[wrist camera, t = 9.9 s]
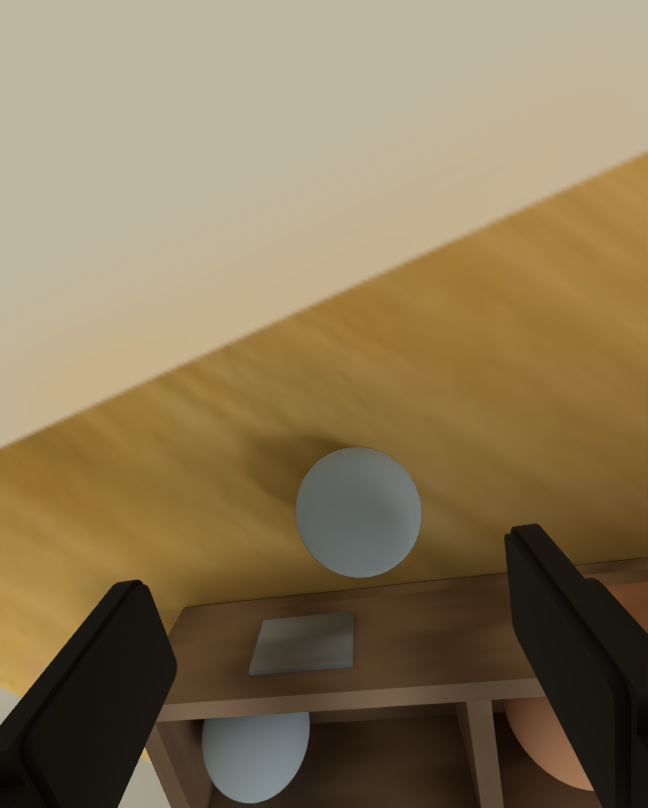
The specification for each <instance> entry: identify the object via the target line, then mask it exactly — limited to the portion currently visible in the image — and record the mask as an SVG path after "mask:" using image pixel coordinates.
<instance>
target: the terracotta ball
mask: <svg viewBox="0 0 648 808" xmlns="http://www.w3.org/2000/svg"><path fill="white" fill-rule="evenodd" d="M503 704H504V709H505V712H506V716H507V718H508V721H509V723H510V726H511V728H512V730H513V732H514V734H515V736H516V738H517V739H518V741H519V743H520V744H521V745H522V747H523V748H524V750H525V751H526V752H527V753H528V754H529V756H530V757H531V758H532V759H533V760H534V761H535V762H536V763H537V764H538V765H539V766H540V767H542V768H543V769H544V770H545V771H546V772H548V773H549V774H550V775H552V776H553V777H555V778H556V779H558V780H560V781H562V782H564V783H566V784H568V785H570V786H573V787H576V788H580V789H584V790H590V791H594V790H593V788H592V786H591V784H590V782H589V780H588V778H587V776H586V774H585V772H584V770H583V768H582V766H581V764H580V762H579V760H578V758H577V756H576V754H575V752H574V750H573V748H572V746H571V744H570V742H569V740H568V738H567V736H566V734H565V732H564V730H563V728H562V726H561V724H560V722H559V721H558V719H557V717H556V715H555V713H554V711H553V709H552V707H551V705H550V703H549V701H548V699H547V697H546V696H544V697H528V698H513V699H503Z"/></svg>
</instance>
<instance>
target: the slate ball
mask: <svg viewBox="0 0 648 808" xmlns="http://www.w3.org/2000/svg"><path fill="white" fill-rule="evenodd" d="M295 510H296V522H297V527H298V530H299V533H300V536H301V539H302V541H303V543H304V545H305V546H306V548H307V549H308V551H309V552H310V553H311V555H312V556H313V557H314V558H315V559H316V560H317V561H318V562H319V563H321V564H322V565H323V566H325V567H326V568H328V569H330V570H331V571H333V572H336V573H338V574H341V575H344V576H349V577H358V578H363V577H372V576H376V575H379V574H382V573H384V572H387V571H389V570H390V569H392V568H393V567H395V566H396V565H398V564H399V563H400V562H401V561H402V560H403V559H404V558H405V557H406V556H407V555H408V553H409V552H410V551H411V549H412V548H413V546H414V544H415V542H416V540H417V537H418V534H419V531H420V527H421V517H422V509H421V501H420V497H419V493H418V490H417V488H416V485H415V483H414V482H413V480H412V478H411V476H410V475H409V474H408V472H407V471H406V470H405V469H404V468H403V467H402V466H401V465H400V464H399V463H398V462H397V461H396V460H395V459H393V458H392V457H390V456H388V455H387V454H385V453H382V452H380V451H378V450H374V449H371V448H365V447H349V448H344V449H340V450H337V451H334V452H332V453H330V454H328V455H326V456H324V457H323V458H322V459H320V460H319V461H318V462H317V463H316V464H314V465H313V467H312V468H311V469H310V470H309V471H308V473H307V474H306V476H305V477H304V479H303V481H302V483H301V486H300V488H299V491H298V494H297V499H296V507H295Z"/></svg>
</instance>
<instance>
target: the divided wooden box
mask: <svg viewBox="0 0 648 808" xmlns="http://www.w3.org/2000/svg"><path fill="white" fill-rule="evenodd" d="M575 567H576V568H577V570H578V571H579V572H580V573H581V574H582V575H583V577H584V578H595V579H597V580H599V581H600V582H601V583H602V584H603V585H604V586H605V587H606V588H607V589H608V590H609V591H610V592H611V593H612V595H613V596H614V597H615V598H616V599H617V600H618V601H619V602H620V603H621V605H622V606H623V607H624V608H625V609H626V610H627V611H628V612H629V613H630V615H631V616H632V617H633V618H634V619H635V620H636V621H637V622H638V623H639V624H640V626H641V627H642V628H643V629H644V630H645V631H646V632H647V633H648V558H642V559H633V560H623V561H614V562H605V563H595V564H586V565H577V566H575ZM168 639H169V642H170V645H171V647H172V650H173V652H174V655H175V658H176V661H177V674H176V677H175V680H174V682H173V684H172V686H171V689H170V691H169V693H168V695H167V698H166V700H165V702H164V704H163V707H162V709H161V711H160V713H159V716H158V718H157V720H156V722H155V725H154V727H153V729H152V731H151V734H150V736H149V738H148V740H147V743H146V745H145V748H146V750H147V753H148V755H149V757H150V760H151V762H152V764H153V766H154V769H155V771H156V773H157V776H158V778H159V780H160V783H161V785H162V787H163V790H164V792H165V794H166V797H167V799H168V801H169V803H170V806H171V808H603V807H602V805H601V803H600V801H599V799H598V797H597V796H596V794H595V792H594V791H590V790H584V789H580V788H576V787H573V786H570V785H568V784H566V783H564V782H562V781H560V780H558V779H556V778H555V777H553V776H552V775H550V774H549V773H548V772H546V771H545V770H544V769H543V768H542V767H540V766H539V765H538V764H537V763H536V762H535V761H534V760H533V759H532V758H531V757H530V756H529V754H528V753H527V752H526V751H525V750H524V748H523V747H522V745H521V744H520V743H519V741H518V739H517V738H516V736H515V734H514V732H513V730H512V728H511V726H510V723H509V721H508V718H507V716H506V712H505V709H504V704H503V699H513V698H528V697H544V696H546V695H545V693H544V691H543V689H542V687H541V685H540V683H539V681H538V679H537V677H536V675H535V673H534V671H533V669H532V667H531V665H530V663H529V661H528V659H527V657H526V655H525V653H524V651H523V649H522V647H521V646H520V644H519V642H518V639H517V637H516V635H515V632H514V628H513V624H512V616H511V605H510V594H509V583H508V573H502V574H493V575H484V576H474V577H465V578H456V579H446V580H437V581H428V582H418V583H409V584H400V585H390V586H381V587H372V588H362V589H353V590H344V591H335V592H325V593H316V594H307V595H297V596H288V597H279V598H269V599H260V600H251V601H241V602H232V603H223V604H213V605H204V606H195V607H185V608H184V609H183V610H182V612H181V614H180V616H179V617H178V619H177V621H176V623H175V625H174V626H173V628H172V630H171V632H170V633H169V635H168ZM299 712H309V721H310V729H309V739H308V745H307V749H306V752H305V756H304V758H303V761H302V763H301V765H300V767H299V769H298V771H297V773H296V774H295V776H294V777H293V779H292V780H291V781H290V782H289V784H288V785H287V786H286V787H285V788H284V789H283V790H281V791H280V792H279V793H278V794H276V795H275V796H273V797H271V798H270V799H267V800H265V801H261V802H258V803H242V802H238V801H235V800H233V799H231V798H229V797H227V796H226V795H224V794H223V793H222V792H221V791H220V790H219V789H218V788H217V787H216V786H215V784H214V783H213V781H212V779H211V778H210V776H209V774H208V771H207V769H206V766H205V762H204V758H203V752H202V730H203V724H204V720H205V719H208V718H223V717H238V716H253V715H269V714H284V713H299Z"/></svg>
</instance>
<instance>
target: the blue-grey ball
mask: <svg viewBox="0 0 648 808" xmlns="http://www.w3.org/2000/svg"><path fill="white" fill-rule="evenodd" d="M309 729H310V721H309V712H299V713H284V714H269V715H253V716H238V717H223V718H208V719H205V720H204V724H203V730H202V752H203V758H204V762H205V766H206V769H207V771H208V774H209V776H210V778H211V779H212V781H213V783H214V784H215V786H216V787H217V788H218V789H219V790H220V791H221V792H222V793H223V794H224V795H226V796H227V797H229V798H231V799H233V800H235V801H238V802H242V803H258V802H261V801H265V800H267V799H270V798H271V797H273V796H275V795H276V794H278V793H279V792H280V791H281V790H283V789H284V788H285V787H286V786H287V785H288V784H289V782H290V781H291V780H292V779H293V777H294V776H295V774H296V773H297V771H298V769H299V767H300V765H301V763H302V761H303V758H304V756H305V752H306V749H307V745H308V739H309Z"/></svg>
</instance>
